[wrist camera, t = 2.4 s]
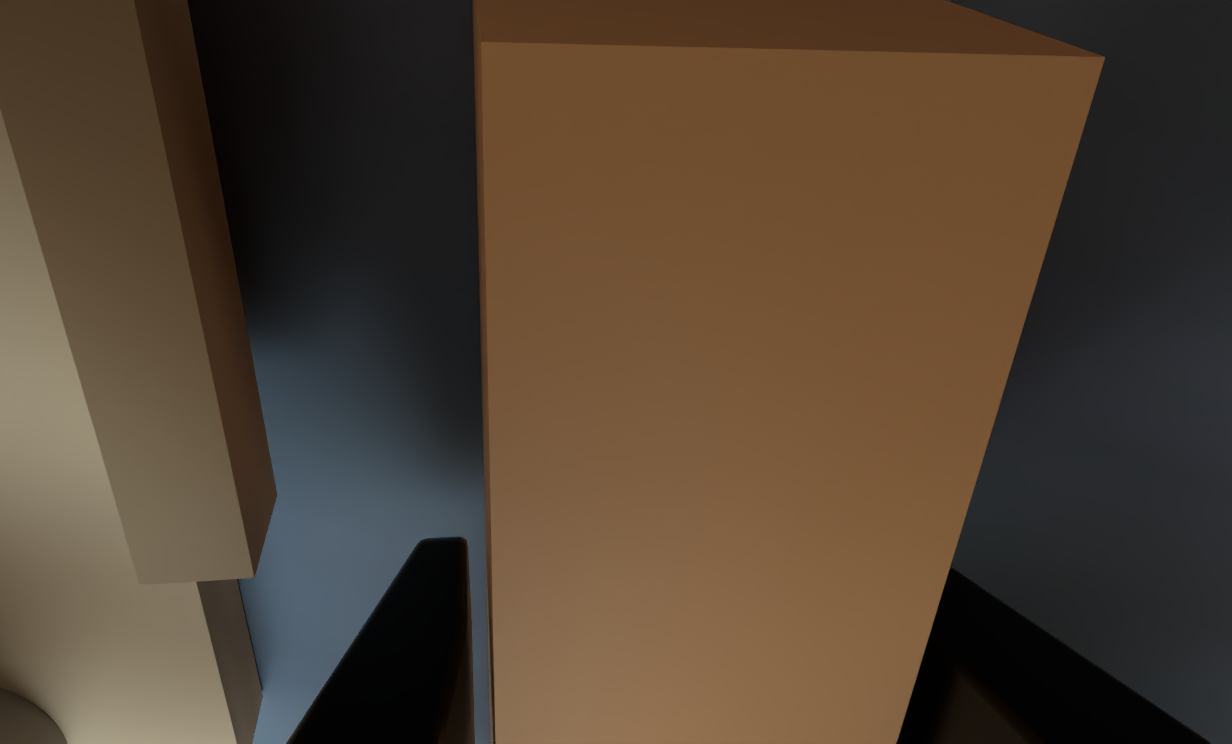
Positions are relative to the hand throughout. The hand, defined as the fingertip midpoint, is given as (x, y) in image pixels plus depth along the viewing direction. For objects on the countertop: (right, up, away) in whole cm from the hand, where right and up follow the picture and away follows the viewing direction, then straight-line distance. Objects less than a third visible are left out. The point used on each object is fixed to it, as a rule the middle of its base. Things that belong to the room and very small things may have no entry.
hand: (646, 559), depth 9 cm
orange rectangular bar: (0, +1, +1) cm, 1 cm away
